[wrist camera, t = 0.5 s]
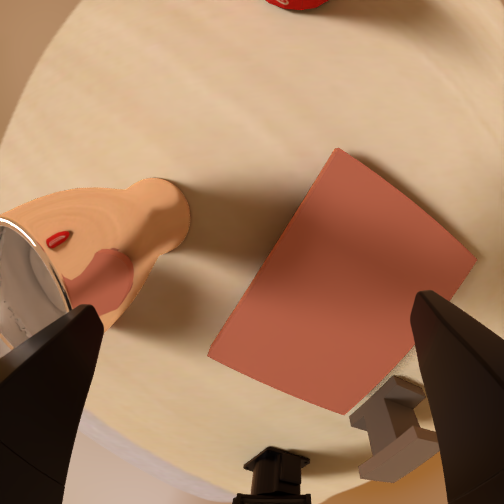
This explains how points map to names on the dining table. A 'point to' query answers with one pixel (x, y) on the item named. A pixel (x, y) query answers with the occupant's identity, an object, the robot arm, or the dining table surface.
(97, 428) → the dining table surface
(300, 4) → the soda can
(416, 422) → the pedestal
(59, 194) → the beer glass
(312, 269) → the reddish-brown flat board
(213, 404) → the dining table surface
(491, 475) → the robot arm
